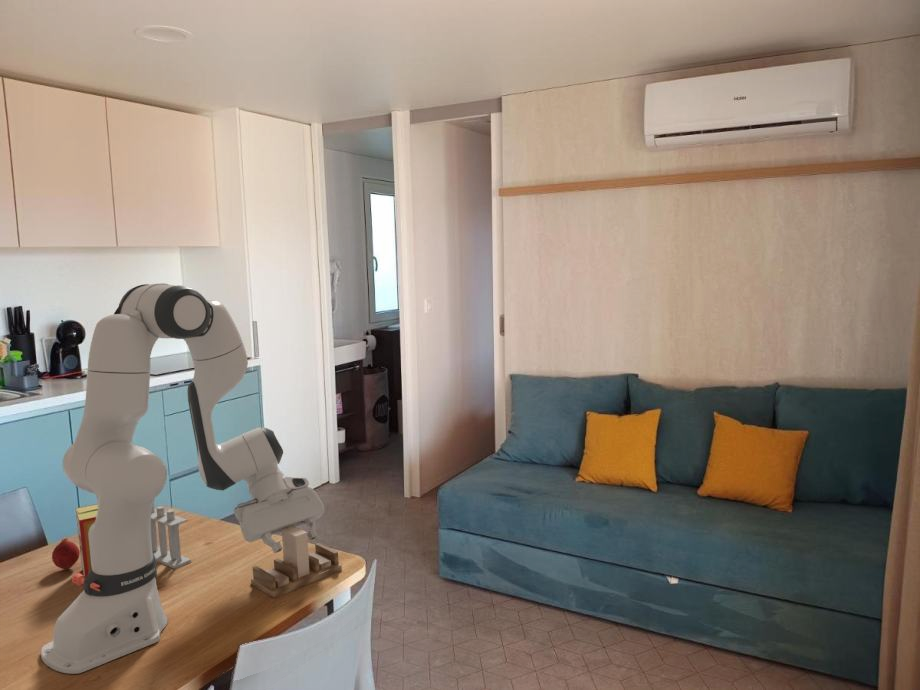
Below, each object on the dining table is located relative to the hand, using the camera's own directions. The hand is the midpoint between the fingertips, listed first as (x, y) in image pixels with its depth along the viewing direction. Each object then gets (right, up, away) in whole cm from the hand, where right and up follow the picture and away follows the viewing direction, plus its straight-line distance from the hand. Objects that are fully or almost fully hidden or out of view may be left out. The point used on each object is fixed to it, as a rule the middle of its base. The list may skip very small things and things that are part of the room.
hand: (296, 544), depth 159 cm
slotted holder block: (0, -8, +2) cm, 8 cm away
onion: (-58, -9, +8) cm, 59 cm away
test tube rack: (-40, -7, +16) cm, 44 cm away
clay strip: (0, -7, +1) cm, 7 cm away
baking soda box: (-48, -9, +6) cm, 49 cm away
